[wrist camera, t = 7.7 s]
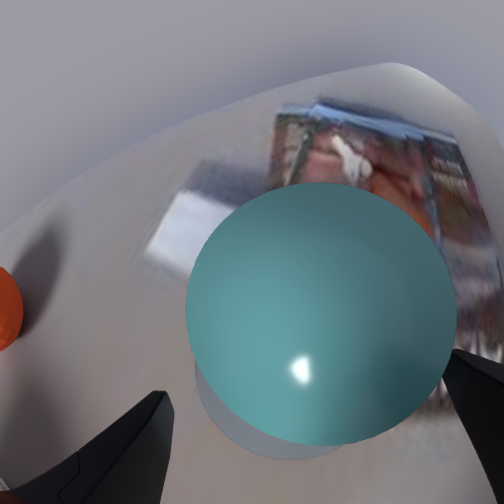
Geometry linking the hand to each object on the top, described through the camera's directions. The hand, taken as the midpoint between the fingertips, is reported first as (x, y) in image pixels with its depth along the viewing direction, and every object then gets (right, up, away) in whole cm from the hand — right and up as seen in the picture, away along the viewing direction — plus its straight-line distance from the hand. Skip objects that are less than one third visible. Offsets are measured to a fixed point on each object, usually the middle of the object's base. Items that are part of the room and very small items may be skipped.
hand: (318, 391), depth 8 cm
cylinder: (0, -2, +7) cm, 8 cm away
